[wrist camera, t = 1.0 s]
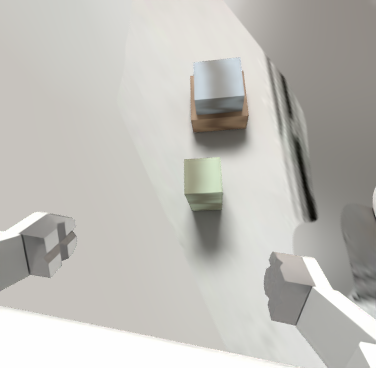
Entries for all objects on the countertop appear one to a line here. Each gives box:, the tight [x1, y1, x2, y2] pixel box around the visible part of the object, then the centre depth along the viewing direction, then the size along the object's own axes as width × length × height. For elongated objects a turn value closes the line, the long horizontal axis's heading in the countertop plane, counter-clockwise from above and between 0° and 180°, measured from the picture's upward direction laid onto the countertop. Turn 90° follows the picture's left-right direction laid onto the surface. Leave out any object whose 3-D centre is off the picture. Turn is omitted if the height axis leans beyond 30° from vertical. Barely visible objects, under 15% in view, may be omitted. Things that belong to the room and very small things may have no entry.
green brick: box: [184, 157, 223, 211], centre depth 36 cm, size 5×5×10 cm
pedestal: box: [190, 57, 249, 132], centre depth 42 cm, size 10×10×8 cm
